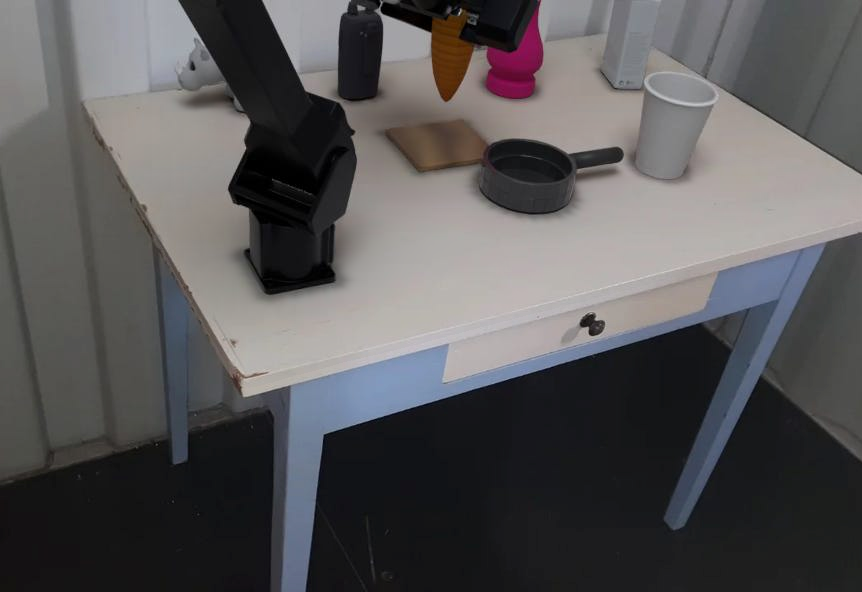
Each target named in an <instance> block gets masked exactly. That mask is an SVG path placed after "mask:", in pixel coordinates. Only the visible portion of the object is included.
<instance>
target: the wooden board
mask: <svg viewBox="0 0 862 592" xmlns="http://www.w3.org/2000/svg"><path fill="white" fill-rule="evenodd" d="M384 134H385V135H386V136H387V137H388V139H389V140H390V141H391V142H392V143H393V145H395V147H396V148H398V150H399V151H400V152H401V153H402V154H403V156H405V158H406V159H407V160H408V161H409V162H410V163H411V164H412V166H413V167H414V168H415V169H416V170H417V171H418V172H419V173H422V172H428V171H434V170H442V169H448V168H449V169H450V168H454V167H461V166H468V165H474V164H481V163H482V157H483V152H484V150H485V149H486V147H487V146H489V145H490V144H488V143H487V142H486V140H484V139H483V138H482V137H481V136H480V135H479V134H478V133H477V132H476V131H475V130H474V129H473V128H472V127H471V126H470V124H469V125H468V123H467V122H466V121H465V120H464V119H456V120H455V119H454V120H447V121H440V122H431V123H424V124H416V125H406V126H399V127H391V128H385V131H384Z"/></svg>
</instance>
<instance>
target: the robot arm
mask: <svg viewBox="0 0 862 592" xmlns="http://www.w3.org/2000/svg"><path fill="white" fill-rule="evenodd" d="M177 1H178V3H179V4H180V6H181V8H182V10H183V11H184V13H185V15H186V17H187V18H188V20H189V21H190V23H191V25H192V26H193V28H194V30H195V31H196V33H197V35H198V36H199V38H200V39H201V41H202V43H203V44H204V45H203V46H206V48H207V50H208V51H209V53H210V55H211V56H212V58H213V60H214V62H215V63H216V65H217V67H218V68H219V70H220V72H221V73H222V75H223V77H224V78H225V80H226V82H227V83H228V85H229V87H230V88H231V90H232V92H233V93H234V95H235V97H236V98H237V100H238V102H239V103H240V105H241V107H242V108H243V110H244V111H243V113H244V114H245V115H246V116H247V118H248V120H249V125H248V128H247V131H246V133H245V135H244V138H243V143H244V146H245V149H244V152H243V154H242V156H241V158H240V161H239V162H238V164H237V167H236V169H235V171H234V173H233V175H232V177H231V179H230V181H229V183H228V186H227V191H228V193H229V197H230V199H231V202H232V204H233V205H236V206H241V207H243V208H246V209H248V226H249V227H248V231H249V232H248V233H249V247H248V248H245V249H244V250H243V257H244V258H245V260H246V262H247V264H248V265H249V268H250V269H251V271H252V272H253V274H254V276H255V277H256V279H257V281H258V283H259V285H260V287H261V289H262V290H263V292H265V293H266V294H275V293H280V292H286V291H289V290H295V289H300V288H305V287H310V286H315V285H320V284H326V283H330V282H334V281H335V280H336V272H335V271H334V270H333V268H332V266H331V265H330V264H333V263H334V261H335V242H336V241H335V239H336V224H335V223H336V222H337V221H339V220H340V219H341V218H342V217H343V216H345V214H346V213H347V208H348V204H349V200H350V195H351V192H352V188H353V183H354V180H355V175H356V171H357V165H358V156H357V154H356V147H355V146H356V145H355V143H354V140H353V138H352V137H353V136H354V135H355V134H356V130H355V129H353V128H352V127H351V125H350V124H349V122H348V121H349V120H348V118H347V117H348V116H347V114H346V110H345V108H344V107H343V106H342V104H341V103H340V102H339V101H336V100H333V99H329V98H327V97H324V96H320V95H318V94H316V93H312V92H310V91H306V89H305V86H304V84H303V83H302V80H301V78H300V76H299V74H298V72H297V70H296V68H295V66H294V63H293V62H292V59H291V57H290V55H289V53H288V51H287V49H286V47H285V45H284V43H283V40H282V39H281V36H280V34H279V33H278V30H277V28H276V26H275V24H274V21H273V19H272V18H271V15H270V13H269V11H268V9H267V7H266V5H265V3H264V1H263V0H177ZM350 1H352V3H353V4H356V5H357V6H360V7H363V8H365V7H366V8H369V9H372V10H374V11H376V10H379V11H380V13H381V14H382V15H383V16H386V17H388V18H391V19H393V20H396V21H399V22H400V23H401V22H402V23H404V24H406V25H409V26H412V27H414V28H417V29H419V30H421V31H424V32H427V33H430V34H432V20H433V17H434V18H437V19H441V20H444V21H447V19H448V17H449V15H450V16H453V17H456V18H459V17H460V16H461V14H462V12H463V9H464V10H466V11H465V15H466V17H468V18H467V20H466V23H465V25H464V27H463V29H462V31H461V33H460V36H459V39H460V40H462V41H464V42H466V43H468V44H470V45H471V46H473V47H474V48H476V49H478V50H481V48H482V47H487V48H488V47H491V48H494V49H497V50H500V51H503V52H506V53H509V54H510V53H512V52H514V51H516V50H518V47H519V45H520V43H521V41H522V39H523V37H524V34H525V32H526V30H527V28H528V26H529V23H530V21H531V19H532V17H533V15H534V12H535V10H536V8H537V6H538V0H350ZM459 8H460V9H459ZM226 82H225V83H226Z"/></svg>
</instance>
